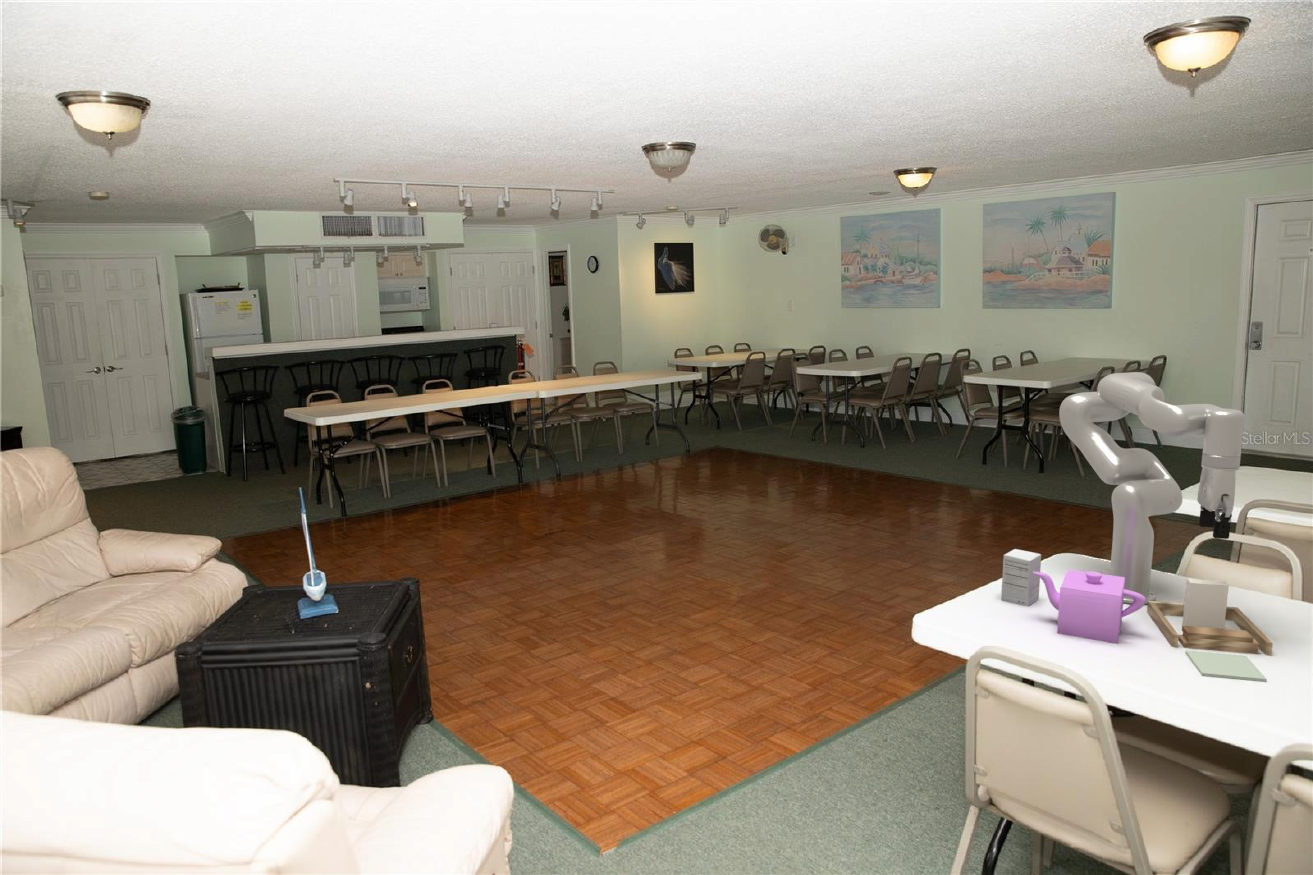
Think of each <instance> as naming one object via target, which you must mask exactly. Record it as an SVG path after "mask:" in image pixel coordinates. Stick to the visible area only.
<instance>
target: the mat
mask: <svg viewBox="0 0 1313 875" xmlns="http://www.w3.org/2000/svg"><path fill="white" fill-rule="evenodd" d="M1184 653H1185V654H1186V656H1187V657H1188V659H1189V661H1191V663H1192V665H1193V666H1194V667H1195V668H1196V670H1197V671H1198V672H1199V673H1200V675H1201V676H1202V677H1203V676H1204V677H1211V678H1212V677H1214V678H1222V679H1224V678H1225V679H1233V680H1234V679H1235V680H1245V681H1254V682H1255V681H1256V682H1267V680H1268V679H1267V678H1266V677H1265V676H1264V674H1263V673H1262V672H1261V671H1260V670H1259V668H1258V667H1257V666H1256V665H1255V664H1254V663H1253V662H1252V661H1251V659H1250V658H1248V656H1247V655H1242V654H1231V653H1220V652H1208V651H1207V652H1206V651H1199V650H1198V651H1196V650H1188V649H1187V650H1185V652H1184Z"/></svg>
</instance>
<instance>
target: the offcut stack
mask: <svg viewBox="0 0 1313 875" xmlns="http://www.w3.org/2000/svg"><path fill="white" fill-rule="evenodd" d="M1181 631H1182V634H1178V635H1179V637H1178V643H1180V644H1181V646H1182V647H1183V648H1185V649H1187V648H1188V649H1196V650H1197V649H1198V650H1207V651H1208V650H1209V651H1219V652H1232V653H1241V654H1242V653H1244V654H1245V653H1246V654H1252V655H1253V654H1255V655H1259V651H1260V649H1259V648H1258V647H1259V644H1258V642H1257V641H1256V640H1255V639H1254V638H1253V637H1252V636H1251V635H1250V634H1249V633H1248V632H1247V631H1245V630H1241V629H1230V628H1224V629H1220V628H1208V627H1196V626H1184V625H1181Z"/></svg>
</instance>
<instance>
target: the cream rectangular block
mask: <svg viewBox="0 0 1313 875" xmlns="http://www.w3.org/2000/svg"><path fill="white" fill-rule="evenodd" d="M1228 594H1229V584H1228V583H1227V582H1225V581H1224V580H1209V579H1194V578H1186V585H1185V594H1184V614H1183V616H1182V625H1184V626H1196V627H1208V628H1220V629H1225V624H1226V620H1225V616H1226V607H1228V606H1227V604H1228ZM1182 625H1181V626H1182Z"/></svg>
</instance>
